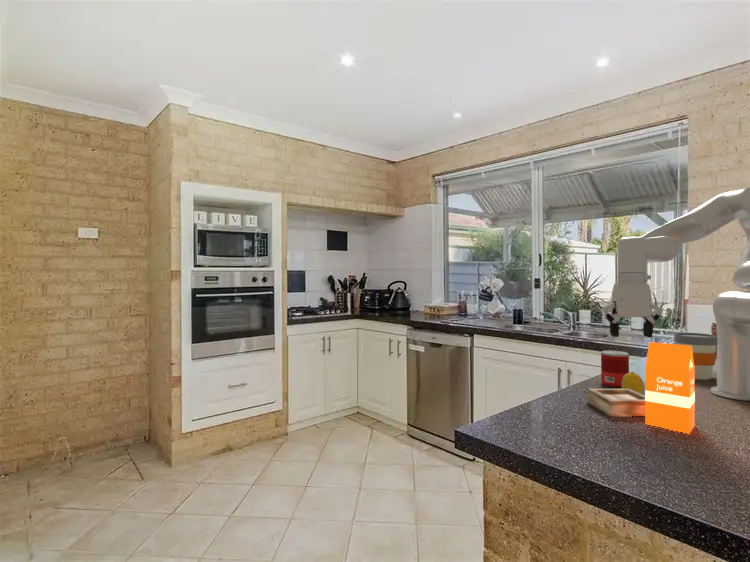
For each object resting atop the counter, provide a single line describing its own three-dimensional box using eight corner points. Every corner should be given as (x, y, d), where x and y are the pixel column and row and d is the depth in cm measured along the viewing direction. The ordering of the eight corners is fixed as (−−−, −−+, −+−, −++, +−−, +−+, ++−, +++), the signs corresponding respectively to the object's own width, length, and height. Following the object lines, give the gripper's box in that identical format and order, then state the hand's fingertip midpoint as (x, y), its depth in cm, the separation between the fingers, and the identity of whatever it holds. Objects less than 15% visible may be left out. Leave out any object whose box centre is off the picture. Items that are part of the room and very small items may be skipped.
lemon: (640, 396, 125) (640, 370, 125) (645, 401, 120) (645, 374, 120) (619, 395, 127) (619, 369, 127) (624, 400, 122) (624, 373, 122)
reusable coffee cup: (697, 381, 142) (697, 338, 142) (665, 373, 154) (665, 333, 154) (727, 379, 145) (727, 336, 144) (692, 371, 157) (692, 332, 157)
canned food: (632, 388, 134) (632, 354, 134) (605, 387, 136) (605, 354, 135) (623, 382, 141) (623, 350, 141) (598, 381, 143) (598, 350, 143)
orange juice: (652, 417, 107) (652, 340, 107) (695, 425, 101) (695, 343, 101) (644, 425, 102) (644, 343, 101) (689, 434, 95) (689, 348, 95)
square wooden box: (630, 402, 120) (630, 388, 120) (657, 416, 108) (657, 401, 108) (587, 402, 120) (587, 388, 120) (610, 416, 108) (610, 401, 108)
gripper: (653, 279, 127) (652, 335, 127) (596, 278, 127) (595, 334, 127) (670, 279, 119) (669, 338, 119) (609, 278, 120) (608, 338, 120)
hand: (631, 336), depth 123 cm, fingers open, 9 cm apart
